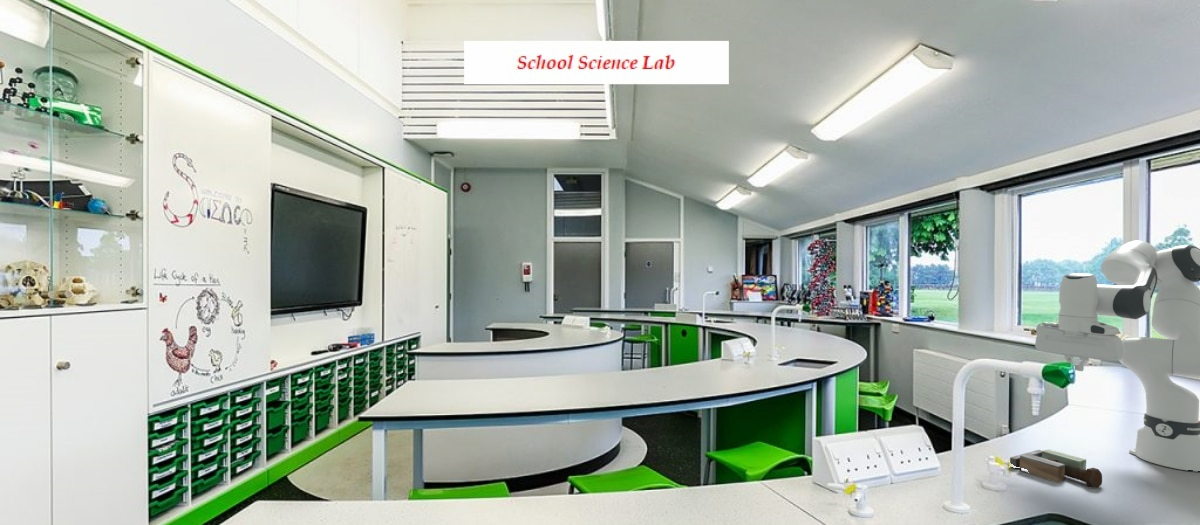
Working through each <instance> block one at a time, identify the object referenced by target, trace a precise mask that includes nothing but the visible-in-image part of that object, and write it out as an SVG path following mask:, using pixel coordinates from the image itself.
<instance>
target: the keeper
mask: <svg viewBox="0 0 1200 525" xmlns="http://www.w3.org/2000/svg"><path fill="white" fill-rule="evenodd" d="M1041 457H1042V458H1041ZM1044 458H1045V459H1044ZM1047 458H1055V459H1057V460H1058V461H1059V463H1058V462H1055V461H1051V460H1048V459H1047ZM1010 463H1011V464H1013V465H1014V466H1016V467H1020V468H1024V469H1027V470H1028V472H1029V473H1028V474H1029V475H1033V476H1035V475H1036V476H1035V477H1039V478H1041V477H1042V479H1046V480H1048V479H1049V480H1048V481H1052V482H1054V481H1055V482H1054V483H1057V482H1058V483H1060V481H1061V482H1063V480H1064V481H1065V477H1066V476H1065V464H1066V465H1069V466H1073V467H1076V468H1080V469H1085V470H1087V459H1086V458H1081V457H1078V456H1075V455H1071V454H1067V453H1063V452H1061V451H1056V450H1053V449H1044V450H1042V449H1036V450H1033V451H1028V452H1025V453H1022V454H1018V455H1015V456H1010V458H1009V464H1010ZM1061 463H1062V464H1061ZM1020 468H1019V469H1020Z"/></svg>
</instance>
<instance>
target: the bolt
mask: <svg viewBox="0 0 1200 525" xmlns="http://www.w3.org/2000/svg"><path fill="white" fill-rule="evenodd" d="M1041 458H1042V457H1041ZM1044 459H1045V458H1044ZM1047 459H1048V460H1051V461H1055V462H1058V463H1059V461H1058V460H1057V459H1055V458H1047ZM1061 464H1062V463H1061ZM1064 477H1068V478H1072V479H1075V480H1078V481H1081V482H1083V483H1085V485H1086V487H1087V486H1088V487H1087V488H1090V487H1091V489H1099V488H1100V487H1101V485H1102V483H1103V475H1102V472H1101V471H1100V469H1098V468H1096V467H1091V468H1089V467H1088V468H1086V470H1085V469H1080V468H1076V467H1073V466H1069V465H1066V464H1065V476H1064Z"/></svg>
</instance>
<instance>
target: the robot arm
mask: <svg viewBox="0 0 1200 525" xmlns="http://www.w3.org/2000/svg"><path fill="white" fill-rule="evenodd" d="M1100 265H1101V266H1100V268H1101V272H1102V275H1103V276H1104V277H1105V278H1106V280H1108V281H1110V282H1111V283H1112V284H1098V281H1097V276H1096V275H1095V274H1092V273H1087V272H1086V273H1085V272H1077V273H1076V272H1075V273H1067V274H1065V275H1063V276H1062V278H1061V282H1060V286H1059V295H1058V296H1059V297H1058V302H1059V306H1060V309H1059V312H1058V323H1055V322H1053V323H1052V322H1051V323H1050V322H1041V323H1039V324H1038V325H1037V326H1036V329H1035V330H1036V337H1035V343H1034V347H1035V349H1036V350H1037V351H1040V352H1047V353H1055V354H1061V355H1062V354H1063V355H1064V359H1065V360H1066V362H1067V363H1068V362H1070V363H1072V364H1073V365H1074V366H1075V370H1074V371H1077V372H1084V366H1085V365H1086V364H1087V363H1088V362H1089V361H1090V359H1091V358H1092V359H1099V360H1104V361H1113V362H1117V361H1118V362H1120V363H1121V365H1123V366H1124V367H1125V368H1127V369H1128V370H1130V371H1131V372H1132V373H1133V374H1134V375H1135V376H1136V377H1137V378H1138V379H1139V381H1140V382H1141V384H1142V386H1143V388H1144V394H1145V403H1146V404H1145V407H1146V409H1145V410H1146V412H1145V413H1144V416H1143V425H1144V426H1143V427H1141V428H1139V429H1137V431H1136V441H1135V448H1130V449H1129V450H1128V453H1130V454H1131V455H1134V456H1136V457H1138V458H1140V459H1141V460H1144V461H1146V462H1148V463H1152V464H1156V465H1159V466H1162V467H1167V468H1171V469H1177V470H1183V471H1188V470H1193V471H1192V472H1198V471H1200V420H1199V417H1200V416H1199V415H1200V399H1199V397H1198V396H1197V394H1195V393H1194V392H1193V391H1191V390H1189V389H1187V388H1185V387H1183V386H1181V385H1179V384H1177V383H1176V382H1174V381H1172V380H1171V378H1170V375H1171V376H1172V375H1175V376H1183V377H1191V378H1200V288H1199V286H1197V284H1195V283H1199V282H1200V248H1199V247H1197V246H1195V245H1193V244H1184V245H1183V244H1182V245H1176V246H1174V247H1171V248H1167V249H1161V250H1158V251H1157V248H1156V247H1155V246H1154V245H1153V244H1151V243H1149V242H1147V241H1143V240H1132V241H1128V242H1126V243H1123V244H1122V245H1119V246H1118V247H1117V248H1115V249H1114V250H1112V251H1111V252H1110V253H1109V254H1108V255H1107V256H1106V257H1105V258H1104V259H1103V260H1102V263H1101V264H1100ZM1156 287H1157V289H1158V290H1157V292H1156V295H1155V299H1154V303H1153V309H1152V316H1151V317H1152V318H1151V325H1152V328H1153V329H1154V331H1155V332H1156V333H1158V335H1160V336H1162V337H1164V338H1159V337H1158V338H1157V337H1150V336H1149V337H1147V336H1141V337H1140V336H1136V337H1133V336H1132V337H1125V338H1123V339H1121V338H1120V336H1118V335H1119V332H1120V329H1119V328H1118V327H1117V326H1114V325H1110V324H1107V323H1105V322H1101V321H1098V317H1099V316H1103V317H1104V316H1105V317H1118V318H1124V319H1132V320H1138V319H1140V318H1143V317H1144V316H1146V315H1147V314H1149V312H1150V309H1151V305H1152V298H1153V296H1154V293H1155V290H1156ZM1074 356H1076V357H1079V360H1081V361H1080V362H1079V363H1075V362H1074V360H1073V358H1074ZM1089 358H1090V359H1089Z"/></svg>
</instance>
